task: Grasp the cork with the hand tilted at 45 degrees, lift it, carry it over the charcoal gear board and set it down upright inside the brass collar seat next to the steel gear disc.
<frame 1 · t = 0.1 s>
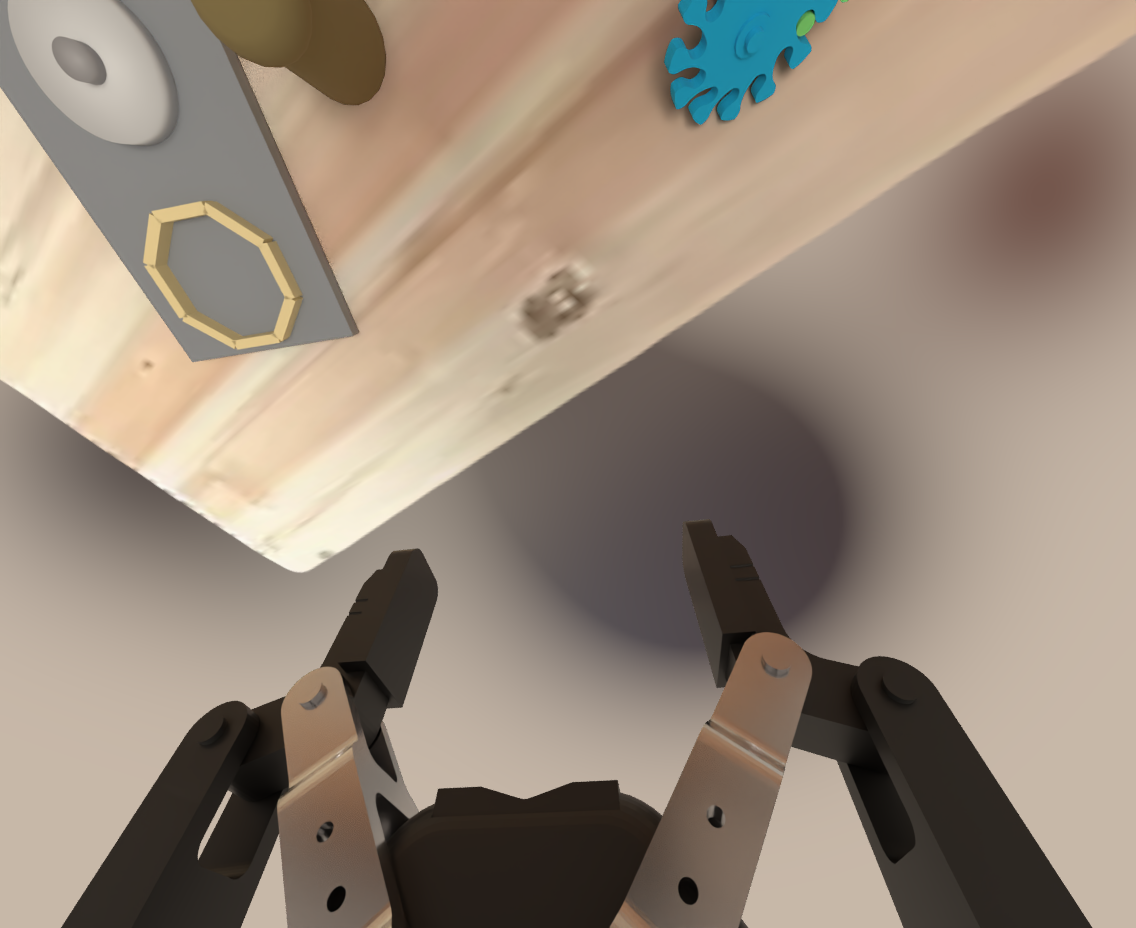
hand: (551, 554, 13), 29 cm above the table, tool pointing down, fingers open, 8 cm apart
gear: (735, 43, 27), on the table
gear board: (194, 194, 32), on the table
cork: (340, 46, 27), on the table
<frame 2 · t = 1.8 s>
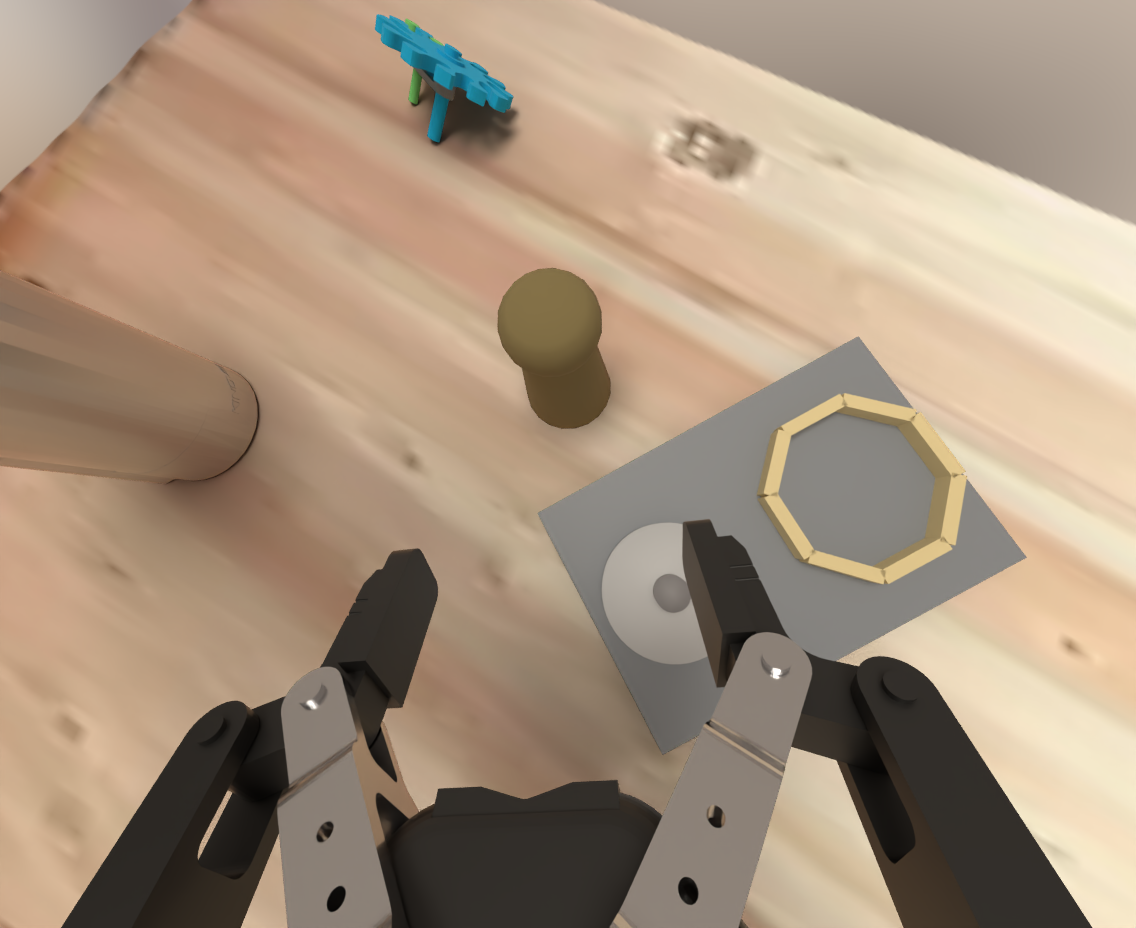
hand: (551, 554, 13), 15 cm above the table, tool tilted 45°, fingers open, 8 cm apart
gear: (463, 115, 35), on the table
gear board: (759, 533, 27), on the table
cork: (568, 389, 30), on the table
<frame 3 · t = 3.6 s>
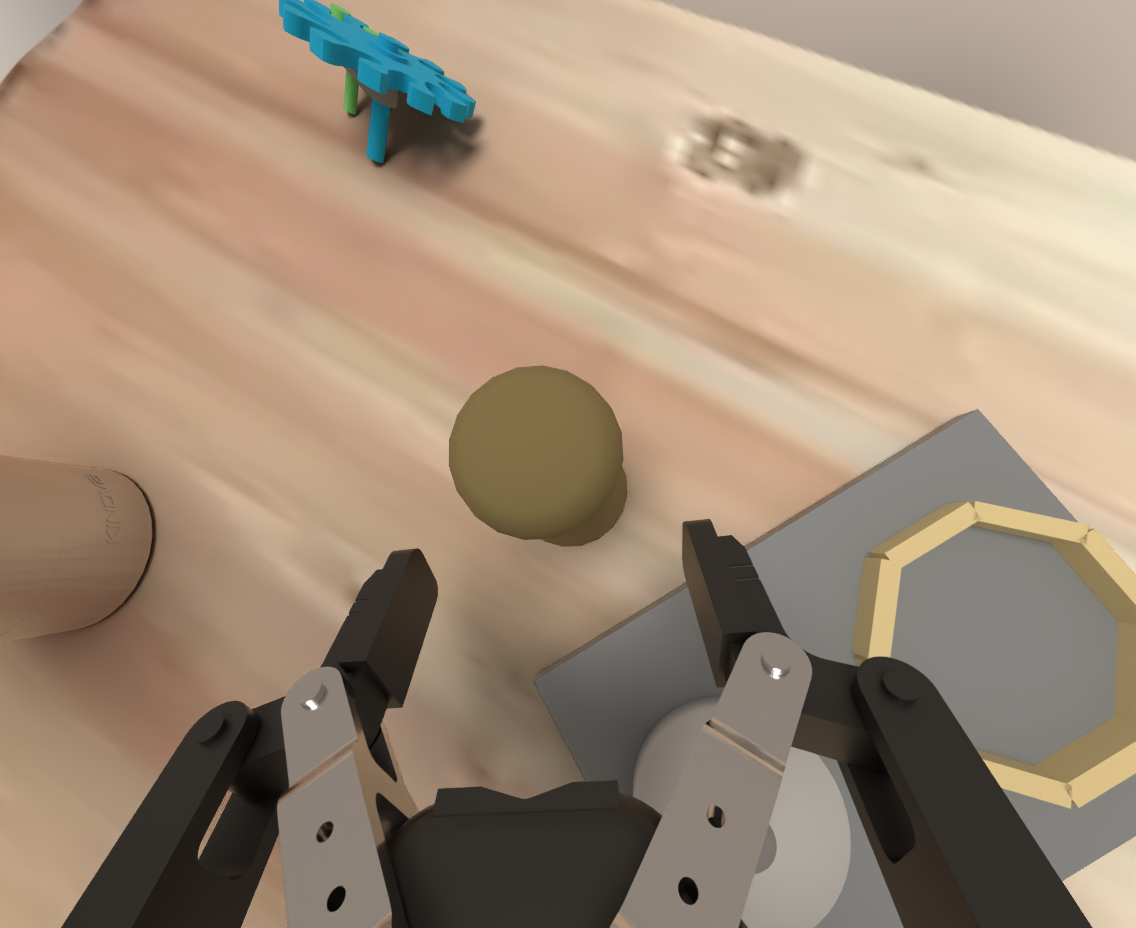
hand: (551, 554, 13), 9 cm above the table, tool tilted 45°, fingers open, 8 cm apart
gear: (414, 126, 27), on the table
gear board: (854, 700, 18), on the table
cork: (569, 488, 22), on the table
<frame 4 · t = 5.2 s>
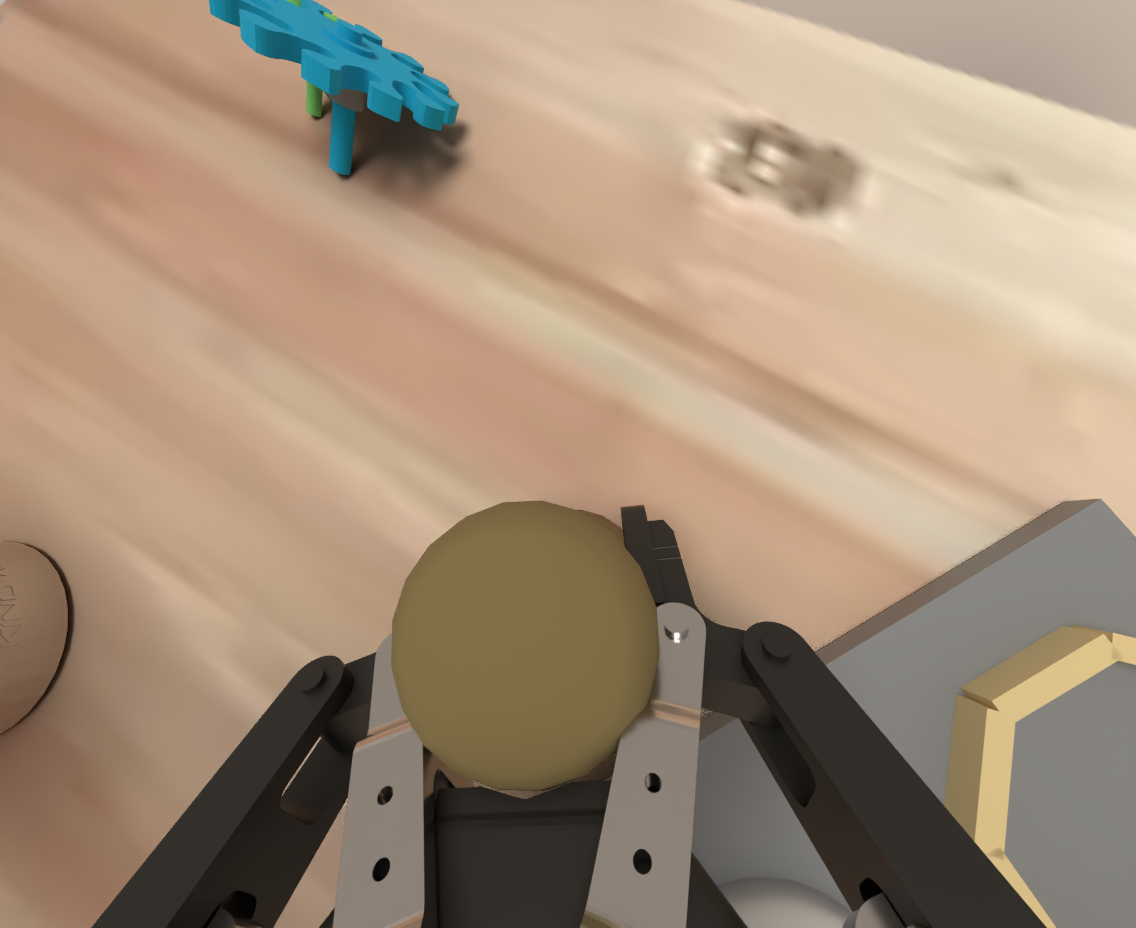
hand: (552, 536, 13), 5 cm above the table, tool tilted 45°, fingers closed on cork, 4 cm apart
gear: (388, 132, 23), on the table
gear board: (941, 878, 14), on the table
cork: (573, 580, 18), on the table, touching gripper
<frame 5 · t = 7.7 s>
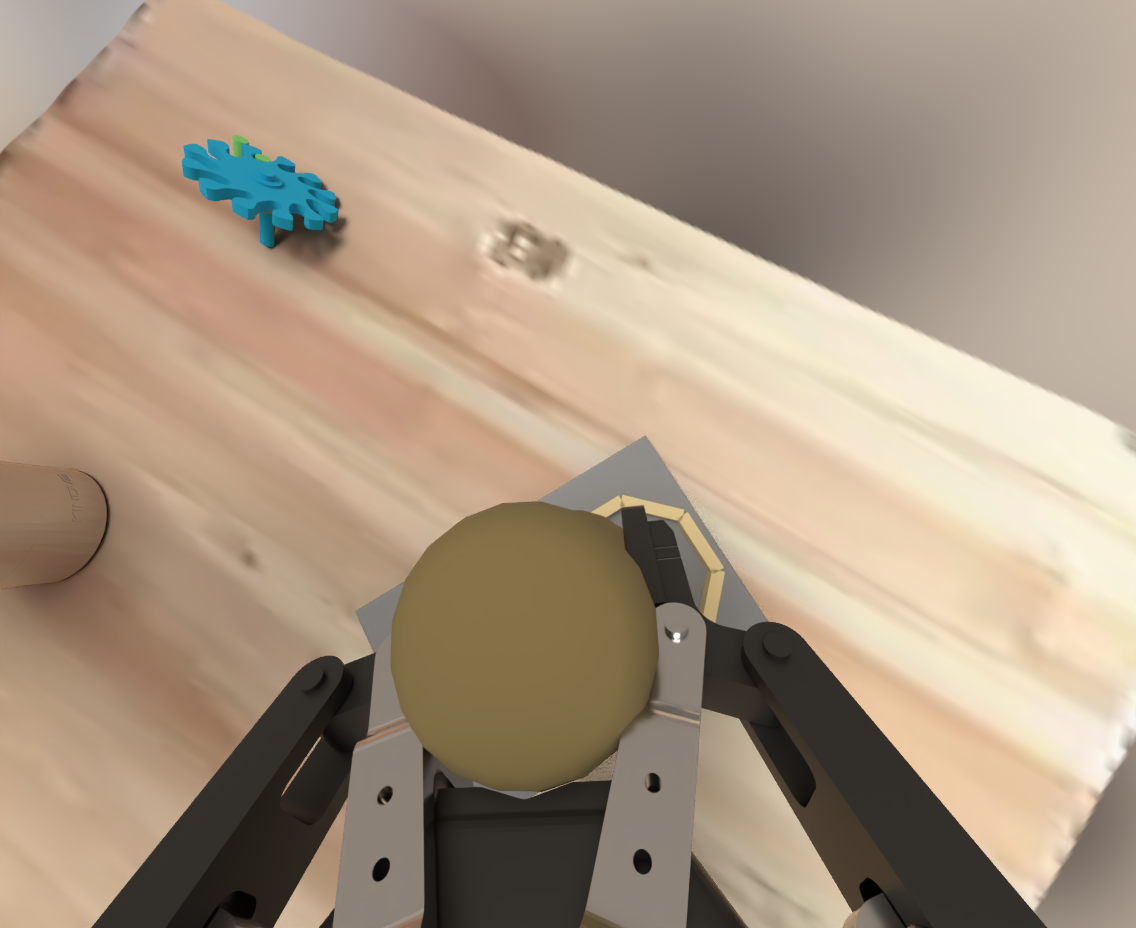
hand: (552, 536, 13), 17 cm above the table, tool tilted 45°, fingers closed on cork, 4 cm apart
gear: (300, 219, 37), on the table
gear board: (559, 622, 29), on the table
cork: (574, 580, 18), point 12 cm above the table, touching gripper
when the fingers open (7 cm above the table, at t = 10.2 s): cork moves 1 cm, resting on gear board.
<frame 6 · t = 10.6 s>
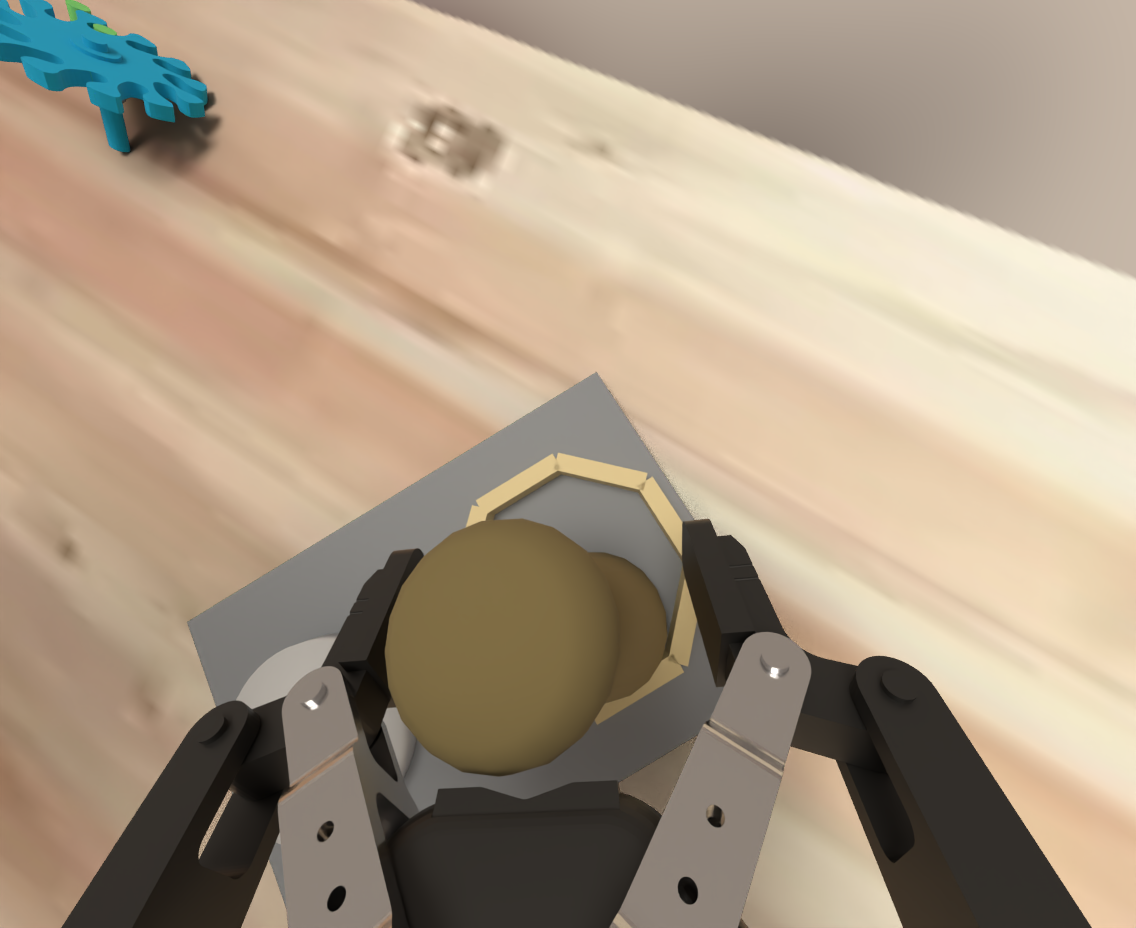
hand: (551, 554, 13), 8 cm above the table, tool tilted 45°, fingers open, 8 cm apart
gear: (166, 120, 29), on the table
gear board: (473, 639, 20), on the table
cork: (596, 622, 18), point 2 cm above the table, touching gear board
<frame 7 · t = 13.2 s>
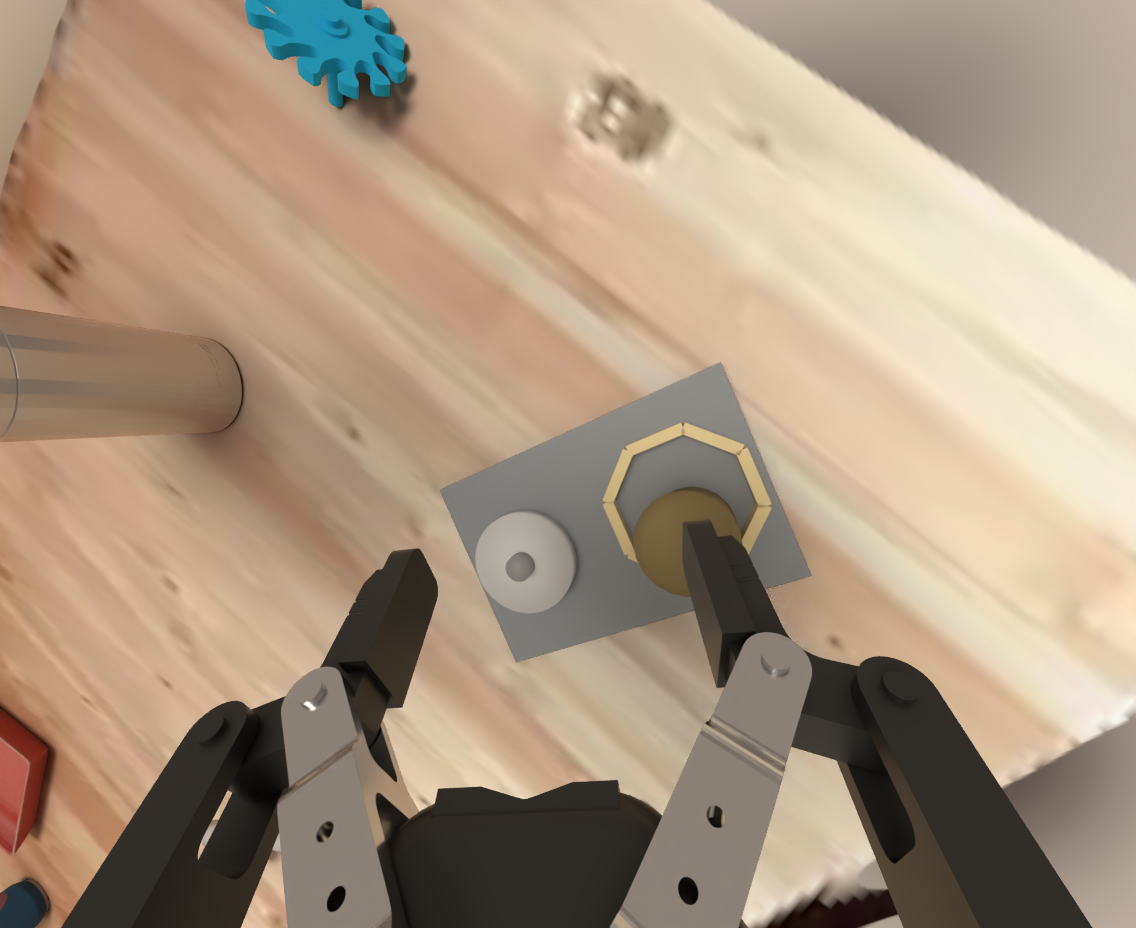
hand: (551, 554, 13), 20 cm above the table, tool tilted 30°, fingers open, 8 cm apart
plant saucer: (13, 753, 59), on the table
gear: (368, 70, 33), on the table
soda can: (38, 894, 61), on the table
gear board: (609, 524, 33), on the table
cork: (692, 528, 29), point 2 cm above the table, touching gear board
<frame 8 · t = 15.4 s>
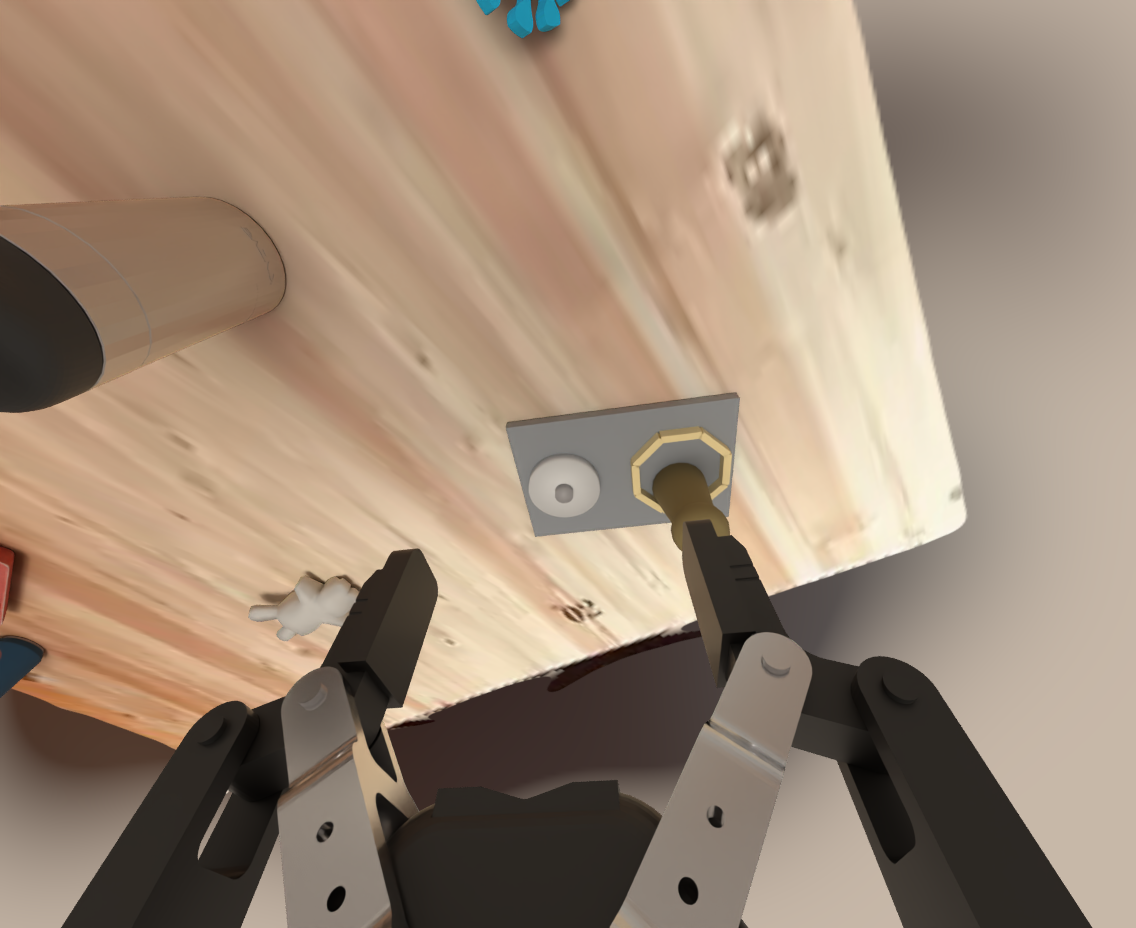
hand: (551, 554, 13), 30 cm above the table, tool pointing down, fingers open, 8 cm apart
bunny figurine: (317, 593, 61), on the table
soda can: (25, 644, 70), on the table
gear board: (624, 469, 48), on the table
cork: (678, 486, 47), point 2 cm above the table, touching gear board
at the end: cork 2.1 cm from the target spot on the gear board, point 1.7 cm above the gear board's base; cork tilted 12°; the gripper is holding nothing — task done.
